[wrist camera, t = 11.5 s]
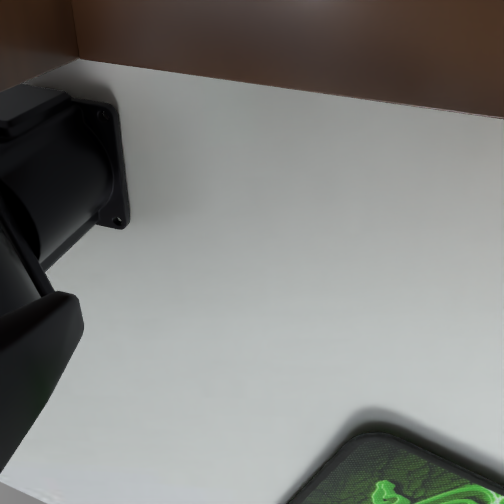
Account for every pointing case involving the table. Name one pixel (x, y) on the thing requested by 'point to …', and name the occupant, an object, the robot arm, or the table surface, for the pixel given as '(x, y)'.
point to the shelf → (277, 45)
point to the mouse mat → (395, 476)
